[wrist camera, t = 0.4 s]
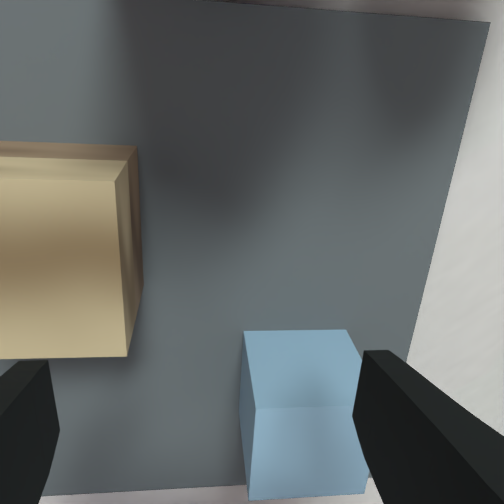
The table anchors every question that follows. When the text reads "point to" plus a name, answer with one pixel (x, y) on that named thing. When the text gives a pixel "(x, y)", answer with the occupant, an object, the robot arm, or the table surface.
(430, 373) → the table surface
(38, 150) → the slab lower
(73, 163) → the slab upper
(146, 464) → the mat
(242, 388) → the cube
